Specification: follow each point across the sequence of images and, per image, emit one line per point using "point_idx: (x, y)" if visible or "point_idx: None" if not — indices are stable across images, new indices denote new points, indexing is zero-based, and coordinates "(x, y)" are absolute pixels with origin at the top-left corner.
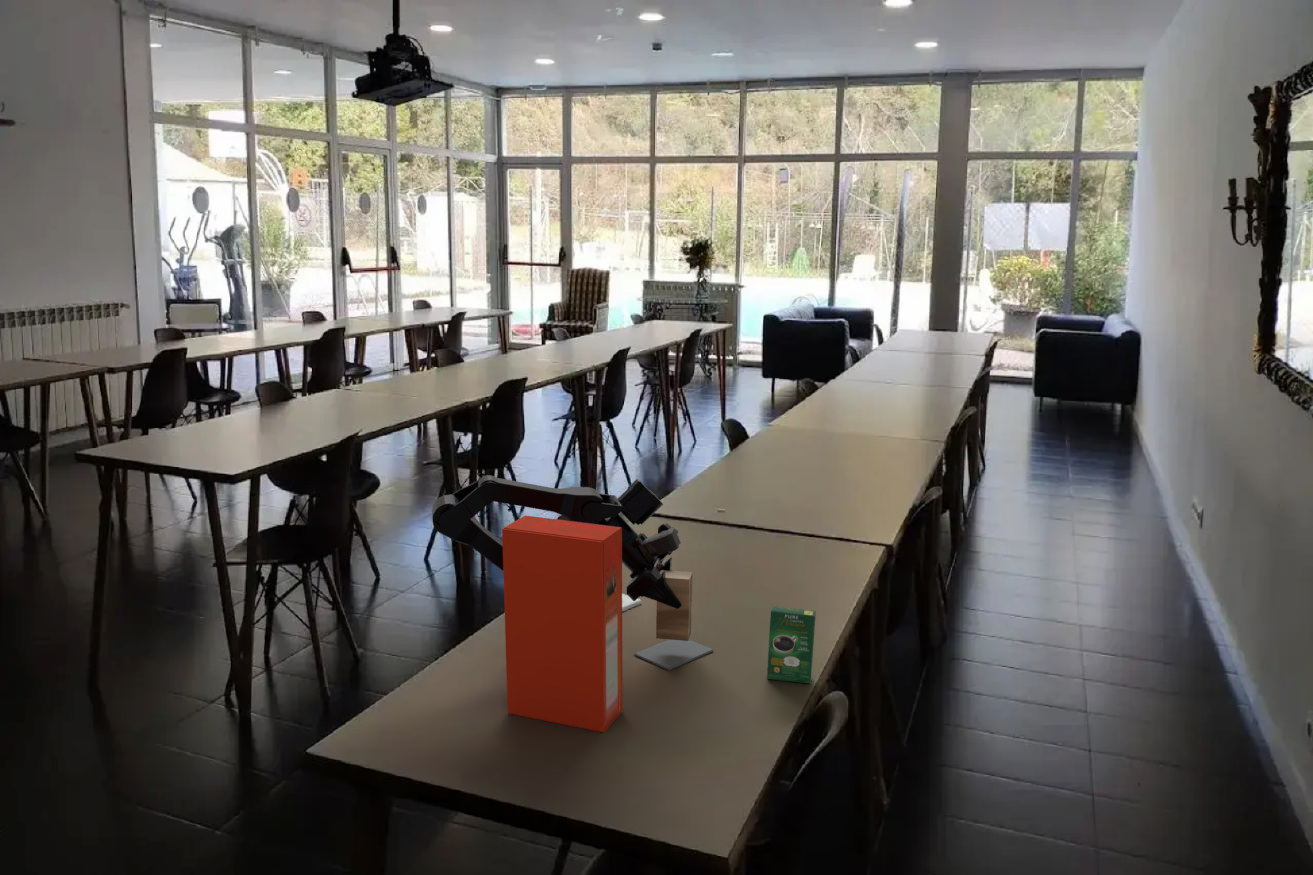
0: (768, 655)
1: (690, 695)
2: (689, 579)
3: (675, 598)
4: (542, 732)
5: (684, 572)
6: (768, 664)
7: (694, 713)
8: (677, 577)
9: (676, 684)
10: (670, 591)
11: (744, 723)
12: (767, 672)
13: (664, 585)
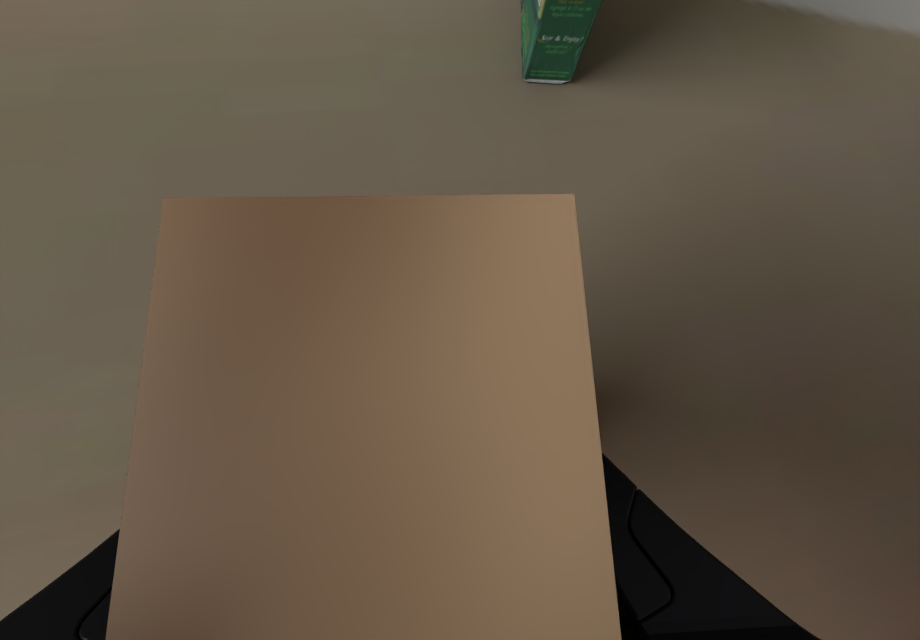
0: (600, 1)
1: (768, 308)
2: (555, 197)
3: None
4: None
5: (194, 344)
6: (588, 34)
7: (884, 275)
8: (529, 431)
9: (703, 374)
10: (642, 498)
11: (877, 126)
12: (577, 63)
13: (801, 627)
